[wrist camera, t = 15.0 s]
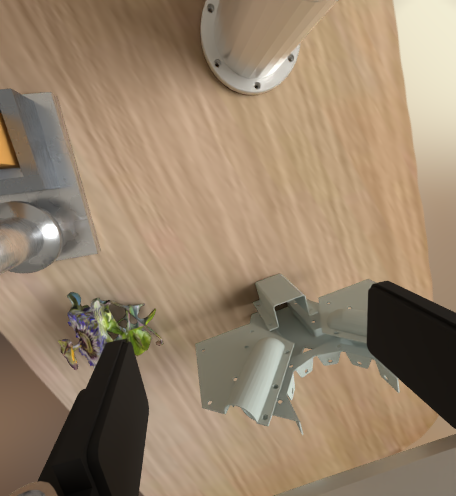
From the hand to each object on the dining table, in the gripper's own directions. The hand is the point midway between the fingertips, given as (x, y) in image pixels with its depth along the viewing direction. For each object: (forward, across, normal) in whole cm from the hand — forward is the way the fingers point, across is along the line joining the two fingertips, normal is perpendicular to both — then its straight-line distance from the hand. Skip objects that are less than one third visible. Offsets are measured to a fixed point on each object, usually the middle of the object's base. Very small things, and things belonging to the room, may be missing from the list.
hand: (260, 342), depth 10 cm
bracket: (+28, -10, +14) cm, 33 cm away
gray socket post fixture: (+28, +20, -8) cm, 36 cm away
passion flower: (+29, +14, +12) cm, 34 cm away
